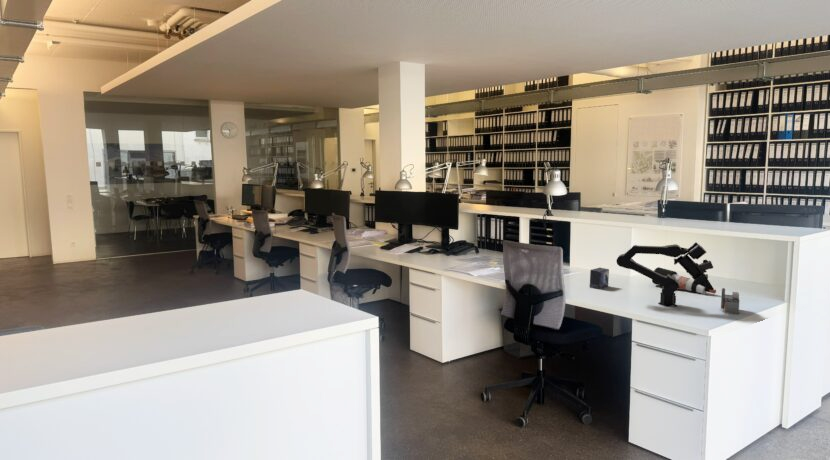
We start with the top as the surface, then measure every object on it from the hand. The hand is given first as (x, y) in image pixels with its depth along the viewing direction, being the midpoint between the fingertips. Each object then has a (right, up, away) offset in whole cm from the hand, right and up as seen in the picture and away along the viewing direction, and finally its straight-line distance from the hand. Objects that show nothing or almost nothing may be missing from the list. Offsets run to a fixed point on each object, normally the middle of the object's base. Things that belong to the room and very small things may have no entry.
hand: (713, 289), depth 274 cm
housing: (+7, -10, -2) cm, 13 cm away
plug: (+7, -10, -2) cm, 12 cm away
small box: (-39, -4, +51) cm, 64 cm away
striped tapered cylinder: (+6, -5, +41) cm, 42 cm away
